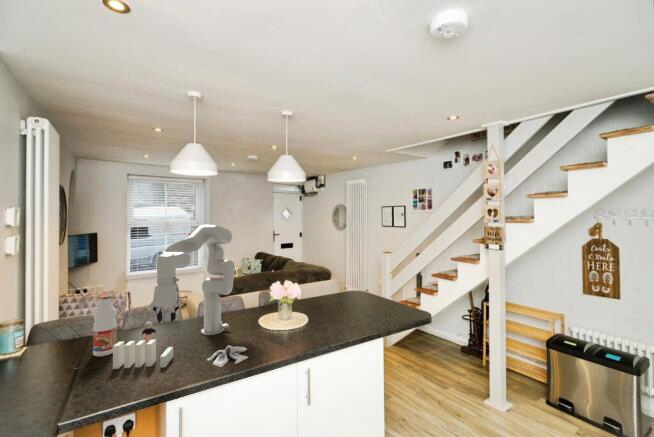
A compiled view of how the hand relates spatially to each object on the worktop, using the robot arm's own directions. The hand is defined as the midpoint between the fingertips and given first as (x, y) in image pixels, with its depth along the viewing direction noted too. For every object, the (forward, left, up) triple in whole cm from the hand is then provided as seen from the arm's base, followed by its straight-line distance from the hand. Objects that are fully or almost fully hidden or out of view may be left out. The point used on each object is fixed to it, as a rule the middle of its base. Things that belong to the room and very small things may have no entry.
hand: (166, 320), depth 138 cm
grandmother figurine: (+16, -21, -19) cm, 33 cm away
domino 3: (+11, 0, -19) cm, 22 cm away
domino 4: (+7, 0, -19) cm, 20 cm away
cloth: (-26, -2, -20) cm, 33 cm away
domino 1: (+20, 0, -19) cm, 28 cm away
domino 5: (0, -6, -17) cm, 18 cm away
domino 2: (+16, 0, -19) cm, 25 cm away
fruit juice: (+34, -16, -19) cm, 42 cm away
